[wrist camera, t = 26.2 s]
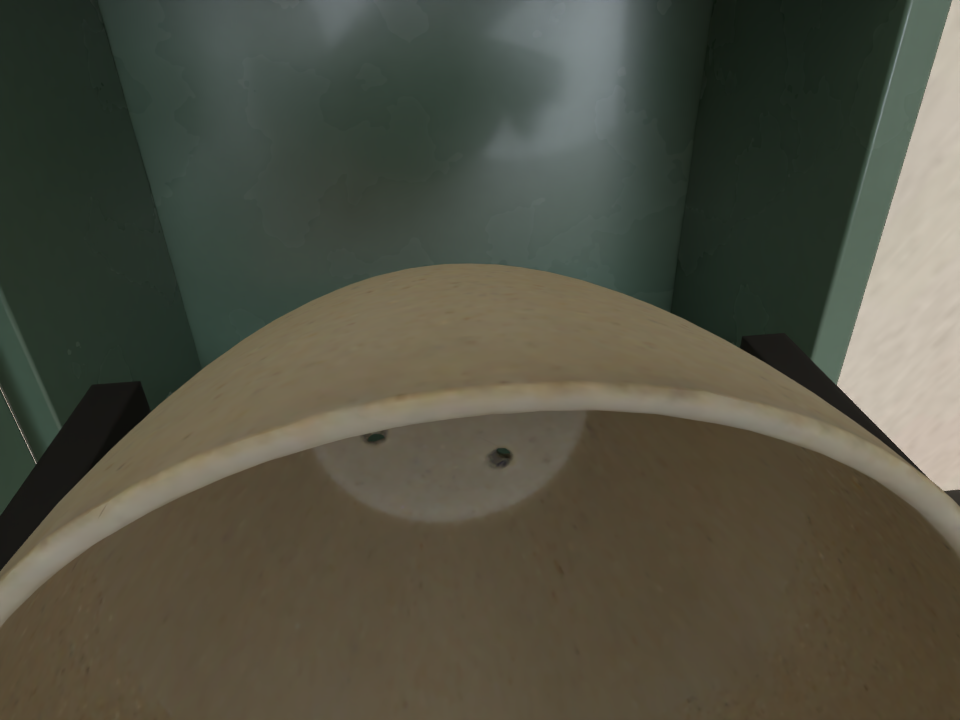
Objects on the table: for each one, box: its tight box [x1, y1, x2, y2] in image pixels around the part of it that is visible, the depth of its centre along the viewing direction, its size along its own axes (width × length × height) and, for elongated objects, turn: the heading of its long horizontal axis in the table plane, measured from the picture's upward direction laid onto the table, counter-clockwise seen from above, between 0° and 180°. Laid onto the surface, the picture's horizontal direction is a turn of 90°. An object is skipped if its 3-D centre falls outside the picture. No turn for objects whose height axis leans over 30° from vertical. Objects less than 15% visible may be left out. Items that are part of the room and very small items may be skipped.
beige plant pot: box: [0, 264, 960, 720], centre depth 10 cm, size 10×10×7 cm
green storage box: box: [0, 0, 952, 463], centre depth 19 cm, size 19×15×10 cm
